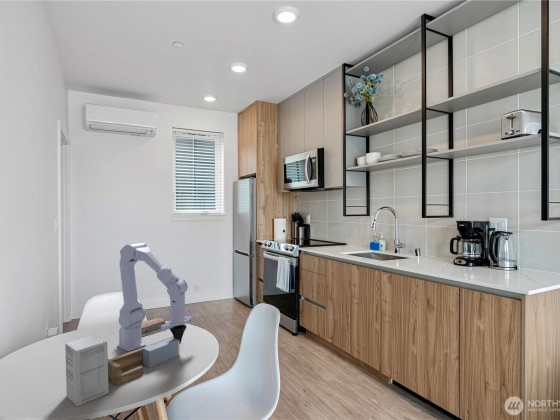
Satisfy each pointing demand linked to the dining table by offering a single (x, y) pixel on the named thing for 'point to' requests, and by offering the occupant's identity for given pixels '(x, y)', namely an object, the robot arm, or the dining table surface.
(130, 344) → the robot arm
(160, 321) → the reddish brown block
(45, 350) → the dining table surface
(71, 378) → the supplement box
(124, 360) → the brown wooden rack
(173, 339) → the boxed book
